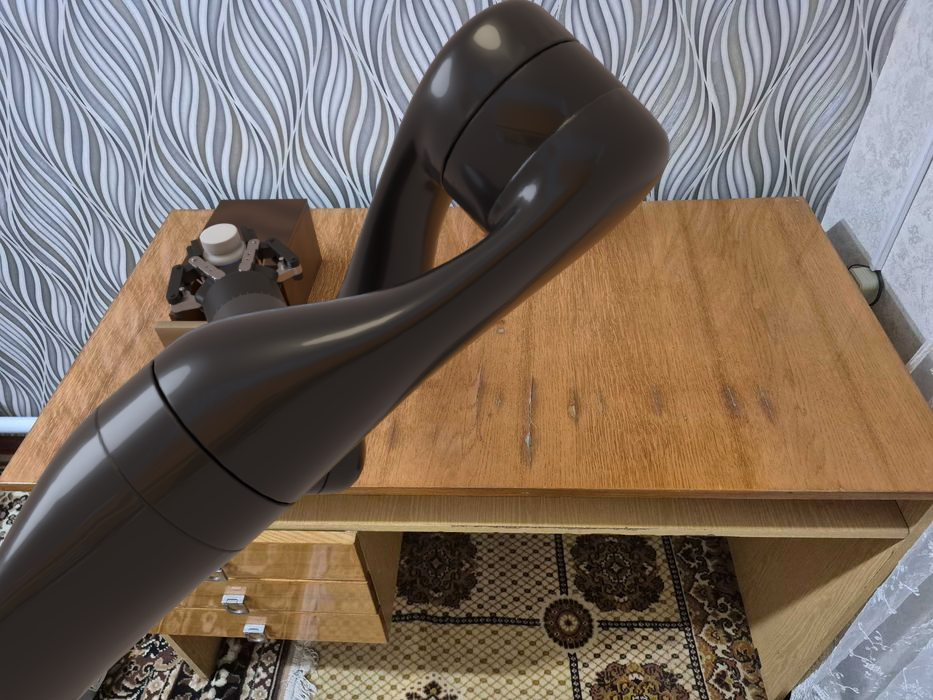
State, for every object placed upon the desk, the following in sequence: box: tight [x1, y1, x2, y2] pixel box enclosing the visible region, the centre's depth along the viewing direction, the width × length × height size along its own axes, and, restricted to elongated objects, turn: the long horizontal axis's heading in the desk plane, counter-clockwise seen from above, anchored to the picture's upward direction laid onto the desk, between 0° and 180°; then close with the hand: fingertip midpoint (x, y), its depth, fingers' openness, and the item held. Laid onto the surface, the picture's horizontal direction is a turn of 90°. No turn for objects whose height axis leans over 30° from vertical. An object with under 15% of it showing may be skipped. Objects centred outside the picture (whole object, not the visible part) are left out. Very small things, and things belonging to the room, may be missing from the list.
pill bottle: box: [199, 224, 247, 268], centre depth 74 cm, size 5×5×8 cm
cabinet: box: [181, 198, 323, 306], centre depth 92 cm, size 16×13×11 cm
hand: (220, 240), depth 74 cm, fingers closed on pill bottle, 4 cm apart
